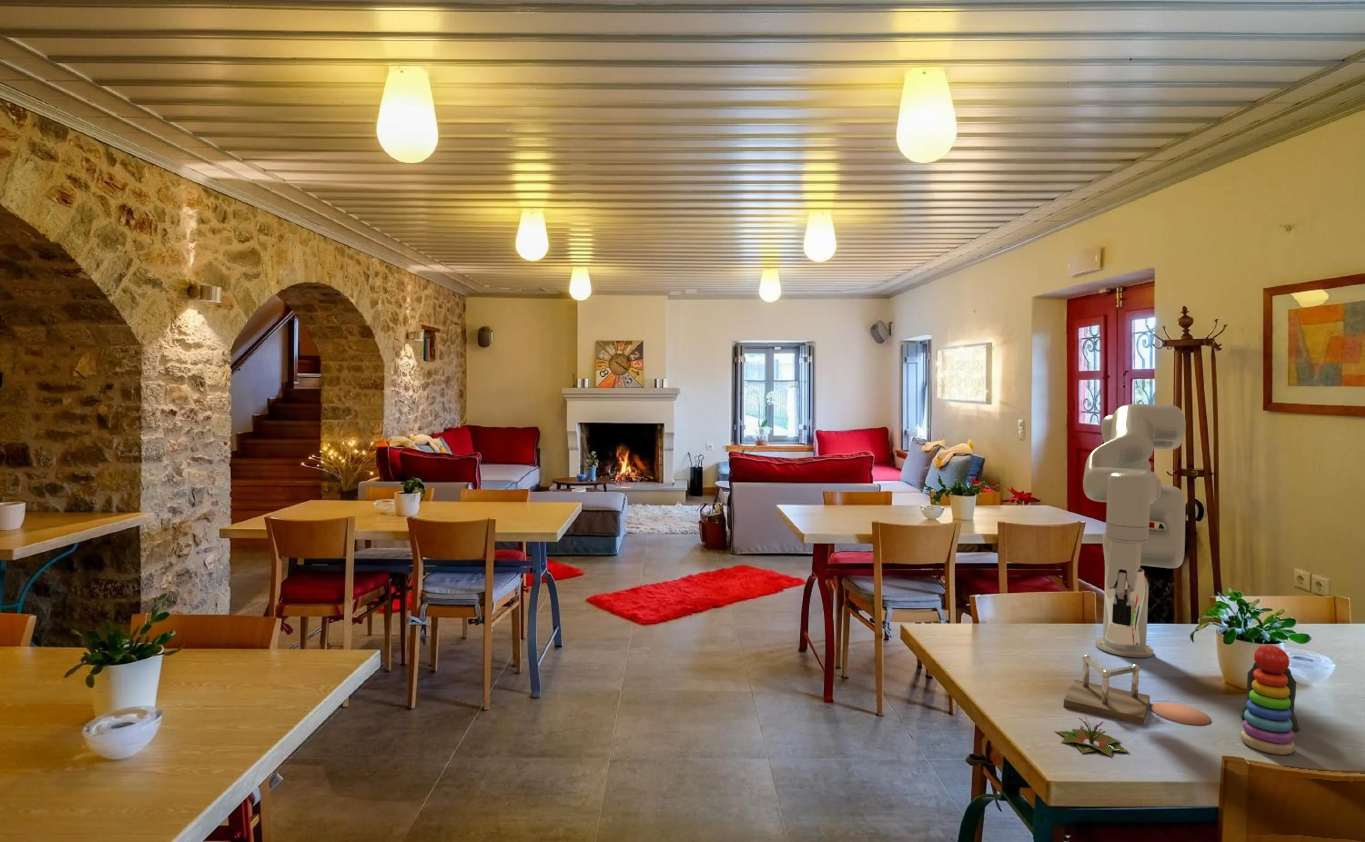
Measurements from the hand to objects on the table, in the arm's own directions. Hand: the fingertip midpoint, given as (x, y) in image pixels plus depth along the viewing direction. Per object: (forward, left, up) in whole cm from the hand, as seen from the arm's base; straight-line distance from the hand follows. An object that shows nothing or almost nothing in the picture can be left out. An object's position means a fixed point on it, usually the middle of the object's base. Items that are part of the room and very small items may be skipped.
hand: (1123, 619), depth 154 cm
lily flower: (+22, -2, -19) cm, 29 cm away
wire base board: (-1, -2, -18) cm, 18 cm away
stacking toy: (+3, +24, -18) cm, 30 cm away
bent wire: (0, -2, -17) cm, 17 cm away
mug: (-12, +25, -18) cm, 33 cm away
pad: (-4, +10, -18) cm, 21 cm away
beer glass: (0, 0, -5) cm, 5 cm away
